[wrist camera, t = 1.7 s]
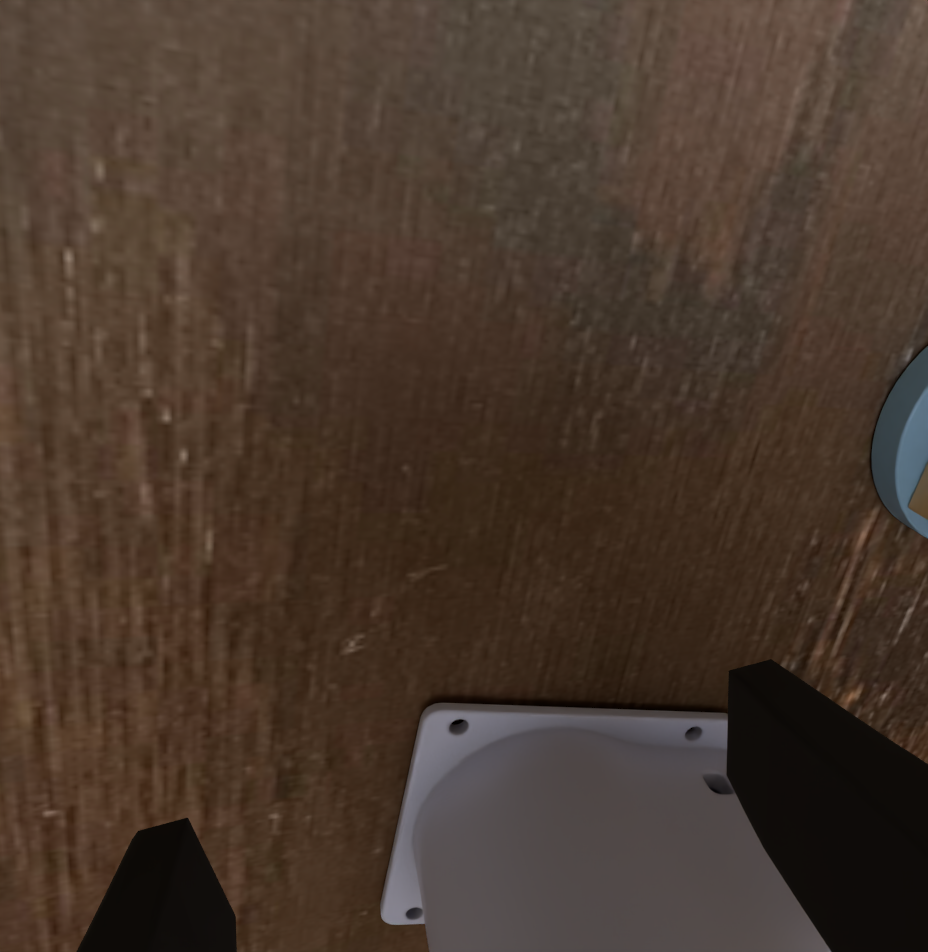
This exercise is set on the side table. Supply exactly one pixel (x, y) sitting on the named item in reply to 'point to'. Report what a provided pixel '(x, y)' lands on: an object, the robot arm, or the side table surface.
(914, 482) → the spoon
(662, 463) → the side table surface
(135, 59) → the side table surface
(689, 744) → the robot arm
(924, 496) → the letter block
